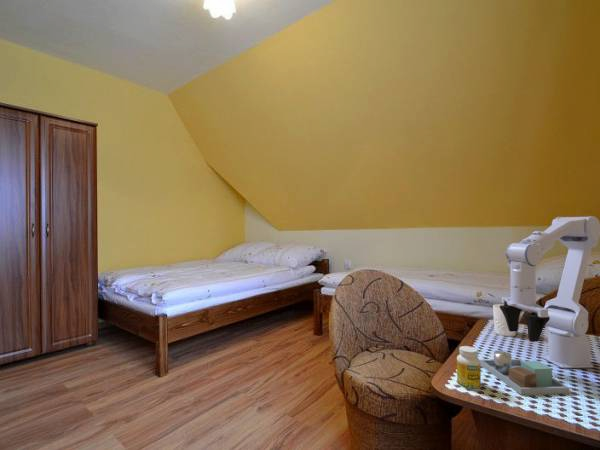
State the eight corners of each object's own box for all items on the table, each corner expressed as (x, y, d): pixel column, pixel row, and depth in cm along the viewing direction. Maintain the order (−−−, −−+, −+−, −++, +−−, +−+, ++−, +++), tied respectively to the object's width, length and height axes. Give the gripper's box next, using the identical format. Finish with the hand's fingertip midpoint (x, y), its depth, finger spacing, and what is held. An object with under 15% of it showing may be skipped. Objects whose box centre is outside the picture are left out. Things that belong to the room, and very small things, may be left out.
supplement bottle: (469, 380, 83) (469, 344, 83) (486, 390, 77) (485, 352, 77) (452, 382, 81) (451, 345, 81) (467, 393, 76) (467, 354, 76)
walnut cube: (520, 381, 80) (520, 366, 80) (536, 389, 77) (536, 373, 77) (508, 384, 79) (508, 368, 79) (524, 392, 75) (524, 375, 75)
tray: (519, 365, 91) (519, 358, 91) (569, 396, 75) (569, 387, 75) (479, 366, 90) (479, 359, 90) (520, 397, 74) (520, 388, 74)
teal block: (537, 377, 83) (537, 360, 82) (552, 386, 78) (552, 368, 78) (521, 378, 82) (521, 361, 82) (534, 387, 78) (534, 369, 78)
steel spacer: (503, 367, 88) (503, 350, 88) (515, 374, 84) (515, 356, 84) (490, 369, 88) (490, 351, 88) (502, 375, 84) (502, 357, 84)
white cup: (521, 337, 113) (521, 310, 113) (497, 336, 115) (497, 309, 115) (511, 330, 121) (511, 304, 121) (489, 329, 122) (489, 303, 122)
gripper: (491, 282, 93) (491, 327, 93) (529, 292, 79) (529, 346, 79) (514, 281, 94) (514, 326, 94) (556, 292, 79) (556, 345, 79)
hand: (523, 335), depth 86 cm, fingers open, 7 cm apart
